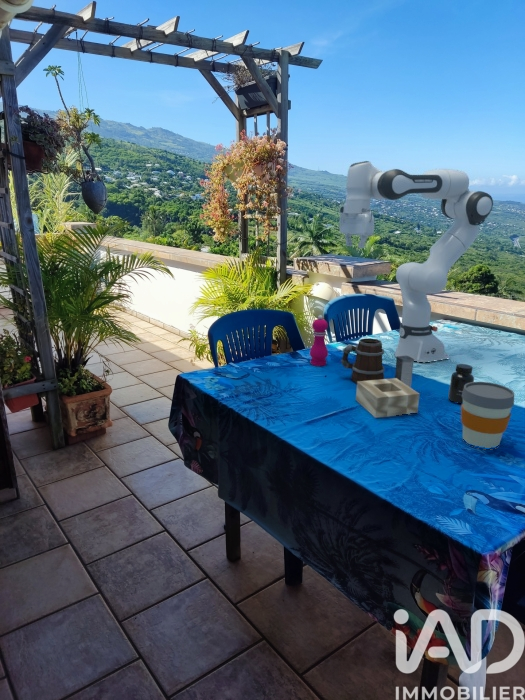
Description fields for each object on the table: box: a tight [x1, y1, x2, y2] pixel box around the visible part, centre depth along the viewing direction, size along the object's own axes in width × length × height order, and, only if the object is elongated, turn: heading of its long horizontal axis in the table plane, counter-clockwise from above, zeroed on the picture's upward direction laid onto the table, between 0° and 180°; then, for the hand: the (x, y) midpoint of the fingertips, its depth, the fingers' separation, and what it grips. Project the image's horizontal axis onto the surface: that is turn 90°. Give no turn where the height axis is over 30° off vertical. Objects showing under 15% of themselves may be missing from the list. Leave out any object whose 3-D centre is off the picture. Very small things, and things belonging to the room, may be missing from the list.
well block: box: [355, 377, 420, 419], centre depth 148 cm, size 14×14×6 cm
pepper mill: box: [309, 314, 329, 367], centre depth 187 cm, size 7×7×20 cm
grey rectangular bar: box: [394, 356, 415, 388], centre depth 160 cm, size 4×4×12 cm
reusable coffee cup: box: [460, 381, 515, 448], centre depth 125 cm, size 13×13×15 cm
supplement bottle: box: [447, 363, 475, 403], centre depth 153 cm, size 7×7×12 cm
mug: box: [340, 337, 385, 385], centre depth 170 cm, size 16×12×15 cm
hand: (355, 247), depth 177 cm, fingers open, 8 cm apart
